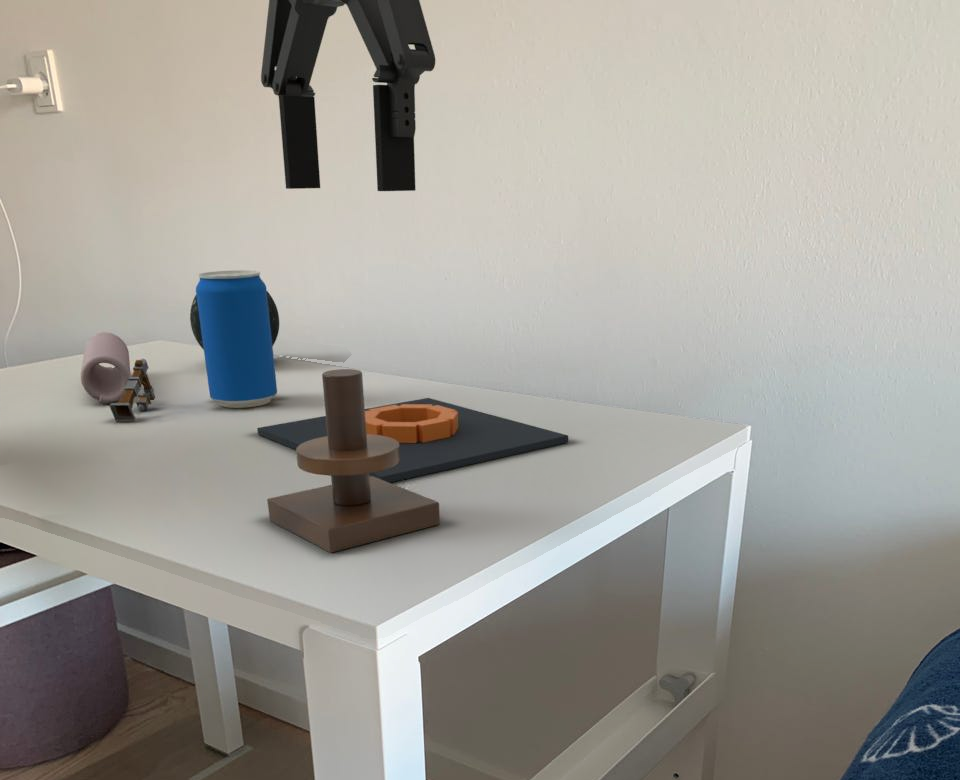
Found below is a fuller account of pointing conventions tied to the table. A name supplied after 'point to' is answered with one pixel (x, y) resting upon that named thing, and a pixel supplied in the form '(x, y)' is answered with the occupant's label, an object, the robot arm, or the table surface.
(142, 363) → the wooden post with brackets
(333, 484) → the stand
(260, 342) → the beverage can
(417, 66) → the robot arm
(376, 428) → the ring
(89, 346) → the pink tube
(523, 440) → the mat
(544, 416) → the table surface
